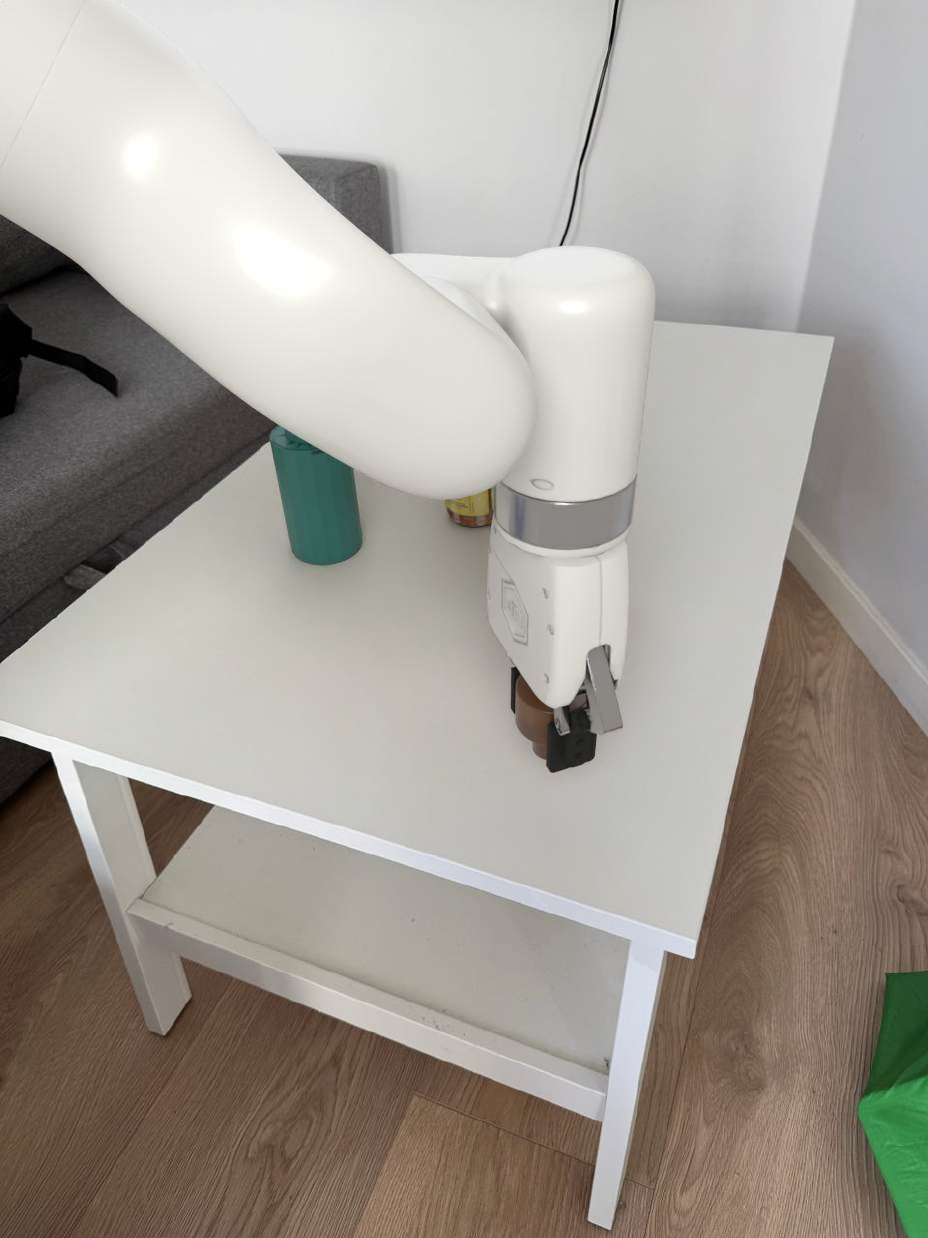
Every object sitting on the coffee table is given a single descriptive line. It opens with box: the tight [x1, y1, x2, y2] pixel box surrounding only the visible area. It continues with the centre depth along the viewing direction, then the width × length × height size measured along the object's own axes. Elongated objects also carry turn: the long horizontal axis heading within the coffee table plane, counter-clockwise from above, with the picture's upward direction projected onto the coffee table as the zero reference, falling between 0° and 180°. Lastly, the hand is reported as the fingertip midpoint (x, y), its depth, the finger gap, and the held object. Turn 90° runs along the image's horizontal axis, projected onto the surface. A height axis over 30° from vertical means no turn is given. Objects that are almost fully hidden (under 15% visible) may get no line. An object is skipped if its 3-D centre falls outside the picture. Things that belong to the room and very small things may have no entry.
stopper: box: [514, 674, 587, 761], centre depth 59 cm, size 5×5×6 cm
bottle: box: [268, 424, 363, 566], centre depth 83 cm, size 7×7×16 cm
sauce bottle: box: [444, 487, 494, 528], centre depth 85 cm, size 7×6×20 cm
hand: (551, 732), depth 60 cm, fingers closed on stopper, 4 cm apart
